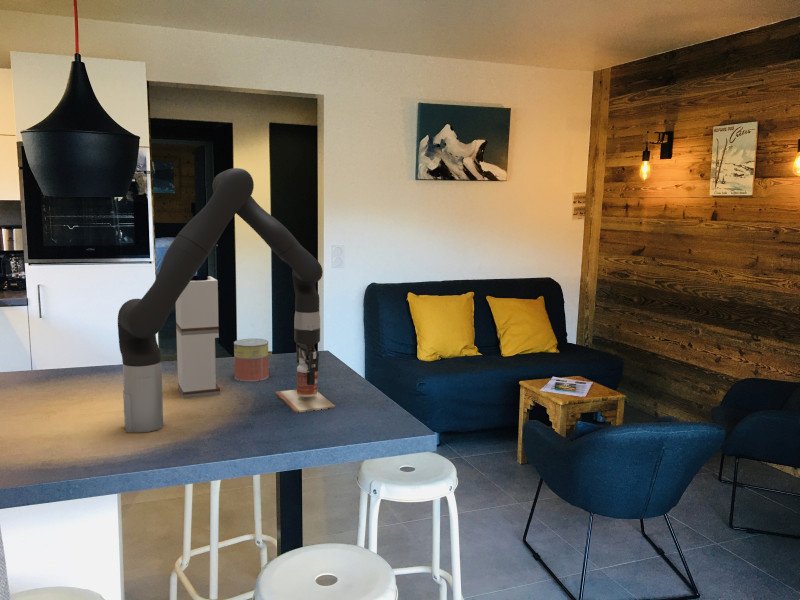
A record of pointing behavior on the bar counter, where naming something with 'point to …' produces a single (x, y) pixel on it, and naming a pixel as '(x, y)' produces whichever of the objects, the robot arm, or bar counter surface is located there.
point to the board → (303, 401)
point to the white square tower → (197, 338)
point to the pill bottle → (305, 381)
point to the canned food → (251, 359)
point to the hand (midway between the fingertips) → (307, 381)
